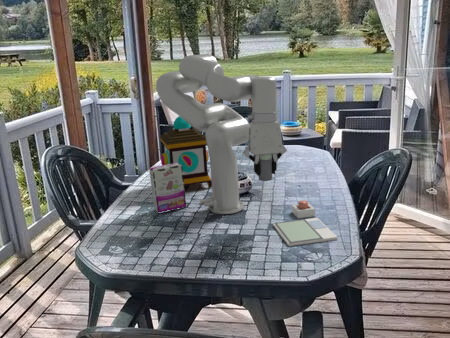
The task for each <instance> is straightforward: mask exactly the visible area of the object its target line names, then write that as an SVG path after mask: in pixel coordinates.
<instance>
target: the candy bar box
mask: <svg viewBox="0 0 450 338" xmlns="http://www.w3.org/2000/svg"><path fill="white" fill-rule="evenodd" d="M148 169H149V178H150V185H151V186H150V187H151V193H152V202H153V209H155V210H156V211H157V212H162V211H167V210H172V209H177V208H182V207H186V208H187V200H186V192H185V186H184V179H183V169H182V165H181V164H178V163H174V164H168V165H163V166H162V165H158V166H155V167H154V166H153V167H149V168H148ZM182 209H183V208H182ZM155 210H154V211H155ZM156 211H155V212H156ZM157 212H156V213H157Z"/></svg>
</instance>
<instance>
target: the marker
mask: <svg viewBox="0 0 450 338" xmlns="http://www.w3.org/2000/svg"><path fill="white" fill-rule="evenodd" d="M259 164H260V176H258V181H261V182H269V181H270V182H271V181H272V180H273V174H272V154H267V155H260V156H259Z"/></svg>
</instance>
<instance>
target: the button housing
mask: <svg viewBox="0 0 450 338" xmlns="http://www.w3.org/2000/svg"><path fill="white" fill-rule="evenodd" d="M291 213H292V214H293V215H294V216H295V217H296V218H297V219H302V218H303V219H305V218H313V217H316V208H315V207H314V206H313V205H312V204H310V203H309V202H308V209H301V210H300V209H299V204H298V203H297V204H291Z"/></svg>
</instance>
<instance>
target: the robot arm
mask: <svg viewBox="0 0 450 338" xmlns="http://www.w3.org/2000/svg"><path fill="white" fill-rule="evenodd" d="M155 84H156V85H155V87H156V92H157V95H158V97H159V99H160V101H161V102H162V104H163V105H164V106H165V107H167V108H168V109H169V110H170V111H172V112H173V113H175V114H177V116H178V117H179V116H180V117H181V118H183V119H184V120H185V121H186V122H187V123H188V124H190V126H191V127H192V129H195V130H197V131H198V132H200V133H205V135H204V136H205V138H206V143H207V144H206V147H207V149H208V150H207V151H208V157H209V165H210V167H209V168H210V179H211V182H212V186H211V191H212V194H211V195H210V197H209V198H207V199H206V198H205V199H204V198H203V199H199V205H200V206H203V205H204V207H208V210H209V211H210V212H211V213H213V214H217V215H230V214H231V215H232V214H235V213H239V212H240V211H242V210H243V209H244V208H245V204H244V203H243V201H241V200H240V190H239V189H240V188H239V187H240V186H239V185H240V184H239V170H238V167H239V166H238V159H237V156H236V154H235V152H234V150H233V147H236V146H240V145H243V144H246V143H247V146H246V148H245V149H244V150H243V152H242V155H243V157H246V158H248V159H250V161H252V162H253V173H255V174H256V175H257V176H258V177H259V176H260V164H259V156H260V155H267V154H272V175H276V171H277V168H278V167H277V162H279V161H278V160H279V159H280V158H282V156H283V155H285V153H287V151H288V150H287V148H286V147H285V145H284V144H283V137H282V136H283V135H282V129H281V127H282V126H281V123H280V121H279V120H277V117H278V115H277V113H278V112H277V105H278V104H277V81H276V78H275V77H273V76H259V75H254V74H247V75H239V76H232V77H231V76H226V75H225V71H224V68H223V66H222V65H221V64H220V63H219V62H218V60H217V59H216V57H215V56H214V55H211V54H209V53H203V54H191V55H187V56H184V57H183V58H182V59H181V60H180V62H179V63H178V70H175V71H169V72H166V73H162V75H160V76H159V77H157V80H156V83H155ZM202 87H206V88H207V91H208V92H209V94H210V95H212V96H213V97H215V98H217V99H219V100H222V101H225V102H228V103H235V102H236V103H237V102H241V101H246V100H251V111H252V112H251V114H249V115H247V119H248V120H251V122H250V123H249V121H248V120H247V119H246V118H245V117H243V116H242V115H241V114H239V112H237V111H235V110H234V109H233V108H231V107H230V106H228V105H227V104H225V103H221V102H215V103H209V104H204V103H202V102H200V101H198V100H197V98H196V97H193V96H191V95H189V94H188V93H194V92H197V91H198V90H200V89H201V88H202Z"/></svg>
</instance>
